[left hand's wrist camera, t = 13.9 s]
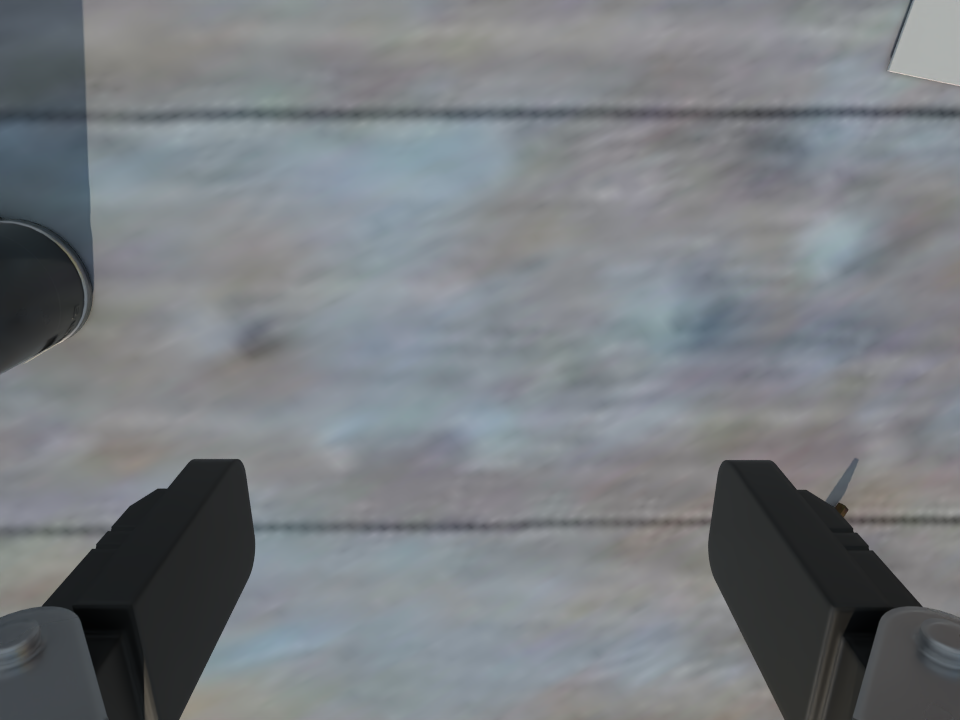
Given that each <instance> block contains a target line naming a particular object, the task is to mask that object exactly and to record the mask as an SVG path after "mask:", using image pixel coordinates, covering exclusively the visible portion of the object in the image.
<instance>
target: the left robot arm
mask: <svg viewBox="0 0 960 720" xmlns="http://www.w3.org/2000/svg"><path fill="white" fill-rule="evenodd" d="M91 306H92V286H91V282H90V278H89V275H88V272H87V270H86V268H85V266H84V264H83V262H82V261H81V259H80V257H79V256H78V255H77V253H76V252H75V251H74V250H73V248H72V247H71V246H70V245H69V244H68V243H67V242H66V241H64V240H63V239H62V238H61V237H60V236H58V235H57V234H55V233H54V232H52V231H51V230H49V229H47V228H45V227H43V226H41V225H38V224H35V223H33V222H29V221H25V220H18V219H2V218H0V374H2V373H4V372H6V371H8V370H9V369H11V368H13V367H15V366H17V365H18V364H20V363H22V362H24V361H26V360H27V359H29V358H31V357H33V356H35V355H36V354H38V353H40V352H42V351H44V350H45V349H47V350H48V348H49V349H50V348H51V347H53V346H55V345H56V344H59V343H61V342H63V341H64V340H66V339H68V338H70V337H71V336H73V335H74V334H75V333H77V332H78V331H79V330H80V329H81V328H82V326H83V325H84V324H85V322H86V320H87V318H88V316H89V314H90V311H91ZM44 352H45V351H44ZM42 353H43V352H42ZM39 355H40V354H39ZM37 356H38V355H37ZM37 356H36V357H37ZM34 358H35V357H34ZM32 359H33V358H32ZM32 359H31V360H32ZM29 361H30V360H29ZM27 362H28V361H27ZM22 365H23V364H22ZM708 552H709V561H710V567H711V570H712V574H713V576H714V579H715V581H716V583H717V585H718V587H719V589H720V591H721V593H722V595H723V597H724V599H725V601H726V603H727V605H728V607H729V609H730V611H731V613H732V615H733V617H734V619H735V621H736V623H737V625H738V627H739V629H740V631H741V633H742V635H743V637H744V639H745V641H746V643H747V645H748V647H749V649H750V651H751V653H752V655H753V657H754V659H755V661H756V663H757V665H758V667H759V669H760V671H761V673H762V675H763V677H764V679H765V681H766V683H767V685H768V687H769V689H770V691H771V693H772V695H773V697H774V699H775V701H776V703H777V705H778V707H779V709H780V711H781V713H782V715H783V717H784V719H785V720H960V618H959V617H957V616H954V615H952V614H949V613H946V612H943V611H939V610H935V609H931V608H925V607H922V606H921V604H920V603H919V602H918V601H917V600H916V599H915V598H914V596H913V595H912V594H911V593H910V592H909V591H908V590H907V589H906V587H905V586H904V585H903V584H902V583H901V582H900V581H899V580H898V578H897V577H896V576H895V575H894V574H893V573H892V572H891V571H890V569H889V568H888V567H887V566H886V565H885V564H884V563H883V562H882V560H881V559H880V558H879V557H878V556H877V555H876V554H875V553H874V551H869V546H868V545H867V544H866V542H865V541H864V540H863V539H862V538H861V537H860V536H859V535H858V533H854V532H853V528H852V527H851V525H850V524H849V523H848V522H847V521H846V520H845V519H844V518H843V516H842V515H841V514H840V513H839V512H838V511H837V510H836V509H835V508H834V507H833V506H831V505H830V504H828V503H826V502H825V501H823V500H822V499H820V498H818V497H817V496H815V495H814V494H812V493H810V492H809V491H807V490H797V489H796V488H795V487H794V486H793V485H792V483H791V482H790V481H789V480H788V478H787V477H786V476H785V475H784V474H783V472H782V471H781V470H780V469H779V468H778V466H777V465H776V464H775V463H774V462H773V461H770V460H725V461H723V462H722V464H721V466H720V468H719V471H718V477H717V484H716V491H715V498H714V505H713V512H712V519H711V526H710V533H709V541H708ZM254 556H255V535H254V528H253V521H252V514H251V507H250V500H249V493H248V486H247V479H246V472H245V468H244V465H243V463H242V462H241V461H240V460H239V459H193V460H191V461H190V462H189V463H188V464H187V465H186V467H185V468H184V469H183V470H182V471H181V473H180V474H179V475H178V476H177V477H176V479H175V480H174V481H173V482H172V484H171V485H170V486H169V487H168V488H167V489H157V490H155V491H153V492H152V493H150V494H149V495H147V496H145V497H144V498H142V499H141V500H139V501H137V502H136V503H134V504H133V505H131V506H130V507H129V508H128V509H127V510H126V511H125V512H124V513H123V514H122V516H121V517H120V518H119V519H118V520H117V521H116V522H115V524H114V525H113V526H112V529H111V531H108V532H107V533H106V534H105V535H104V536H103V537H102V538H101V540H100V541H99V542H98V543H97V544H96V549H92V550H91V551H90V552H89V553H88V554H87V555H86V557H85V558H84V559H83V560H82V561H81V562H80V563H79V565H78V566H77V567H76V568H75V569H74V570H73V571H72V572H71V574H70V575H69V576H68V577H67V578H66V579H65V580H64V582H63V583H62V584H61V585H60V586H59V587H58V588H57V590H56V591H55V592H54V593H53V594H52V595H51V596H50V598H49V599H48V600H47V601H46V602H45V603H44V604H43V605H42V607H35V608H29V609H25V610H21V611H17V612H14V613H11V614H8V615H6V616H3V617H1V618H0V720H179V719H180V717H181V715H182V713H183V711H184V709H185V707H186V705H187V703H188V700H189V698H190V696H191V694H192V692H193V690H194V688H195V686H196V684H197V682H198V680H199V678H200V676H201V674H202V672H203V670H204V668H205V666H206V664H207V662H208V660H209V658H210V656H211V654H212V652H213V650H214V648H215V646H216V644H217V642H218V640H219V637H220V635H221V633H222V631H223V629H224V627H225V625H226V623H227V621H228V619H229V617H230V615H231V613H232V611H233V609H234V607H235V605H236V603H237V601H238V599H239V597H240V595H241V593H242V591H243V589H244V587H245V585H246V583H247V581H248V579H249V576H250V574H251V571H252V567H253V562H254Z"/></svg>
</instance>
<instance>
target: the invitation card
mask: <svg viewBox="0 0 960 720" xmlns="http://www.w3.org/2000/svg"><path fill="white" fill-rule="evenodd" d="M887 71H890V72H895V73H900V74H904V75H909V76H914V77H919V78H924V79H928V80H933V81H938V82H943V83H947V84H952V85H957V86H960V0H913V1H912V4H911V6H910V9H909V12H908V15H907V17H906V20H905V23H904V26H903V28H902V31H901V34H900V36H899V39H898V42H897V45H896V47H895V50H894V53H893V56H892V58H891V61H890V64H889V66H888V69H887Z"/></svg>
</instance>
